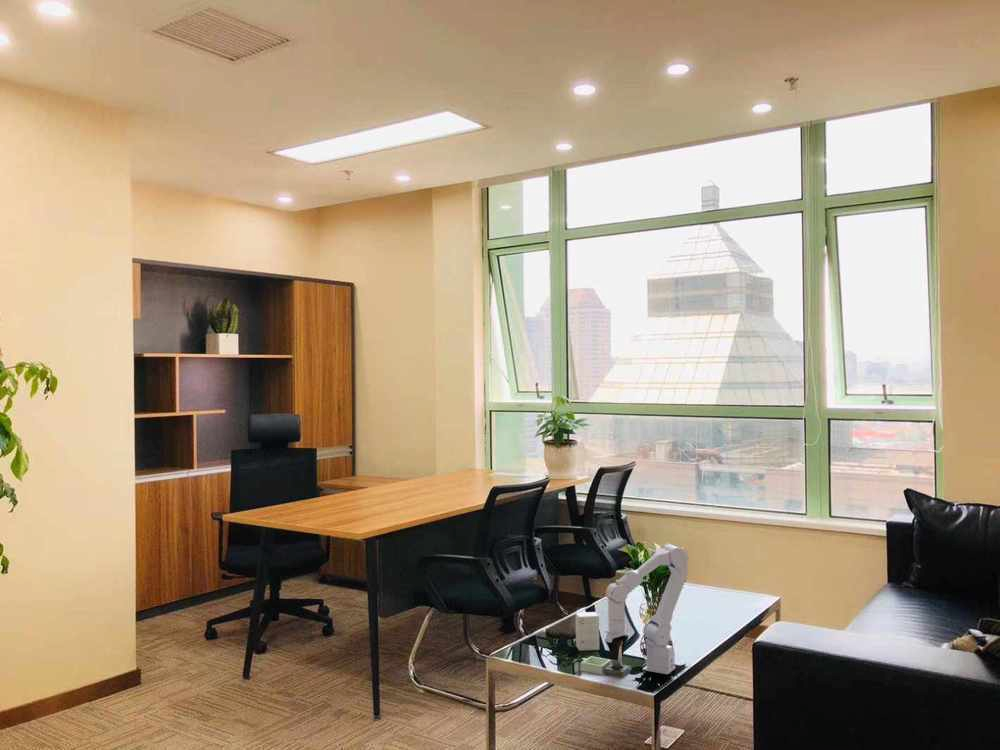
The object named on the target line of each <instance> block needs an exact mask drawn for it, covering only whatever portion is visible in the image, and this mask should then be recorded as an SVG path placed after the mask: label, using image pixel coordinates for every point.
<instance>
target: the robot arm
mask: <svg viewBox="0 0 1000 750" xmlns="http://www.w3.org/2000/svg"><path fill="white" fill-rule="evenodd" d="M688 561H689V556H688V553H687V552H686V550H685V549H684V548H682V547H679V546H676V545H673V544H671V543H664V544H663V545H662V546H661V547H659V548H657V549H656V551H654V554H652V555H651V556H650V557H649V558H648V559H647V560H646V561H645V562H644V563H642V564H641V565H640V566H639V567H638V568H637V569H635V570H634V569H631V570H630V569H629V570H627V571H625V574H624V575H622V577H620V578H619V579H616V580H615V582H614V583H613V582H612V583H610V584H608V586H607V588H605V589H606V590H605V591H604V593H605V596H606V597H607V600H608V602H607V603H608V606H607V609H608V610H607V614H608V616H607V617H608V621H607V622H608V629H605V633H607V635H606V636H605V639H604V642H605V643H606V645H607V648H608V652H609V654H610V658H611V661H613V660H618V656H619V648H620V645H621V642H622V641H619V640H617V639H621V640H623V644H622V657H623V656H624V654H625V653H624V651H625V648H626V644H627V641H628V640H629V635H628V634H626V633H628V629H629V628H628V626H626V618H625V617H626V616H625V615H626V613H625V609H626V608H625V601H626V600H627V598H628V595H629V594H630V593H631V592H632V591H634V590H635V589H636V588H638V587H639V586H640V585H641V584H642V582H643V578H644V577H646V576H647V575H648V574H650V573H652V572H653V571H654V570H656V569H657V568H658V567H659V566H667V567H668V569H669V571H670V576H669V578H668V581H667V583H666V586H665V589H664V591H663V593H662V596H661V598H660V602H659V603H658V606H657V609H656V611H655V614H653V615H652V616H650V618H649V619H648V621H647V623H646V624H645V625H644V626H643V635H644V637H645V638H646V641H645V642H646V665H645V666H644V667H643V668H642V671H647V672H651V673H652V672H653V673H657V674H665V675H670V674H671V673H672V672H673V671H675V669H676V663H675V657H676V655H675V647H674V646H673V645H670V644H669V642H670V640H671V631H672V625H671V618H672V616H673V613H674V610H675V608H676V606H677V603H678V601H679V597H680V596H681V592H682V590H683V588H684V585H685V582H686V579H687V577H688V573H689V572H688V571H689V570H688V567H689V566H688Z"/></svg>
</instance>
